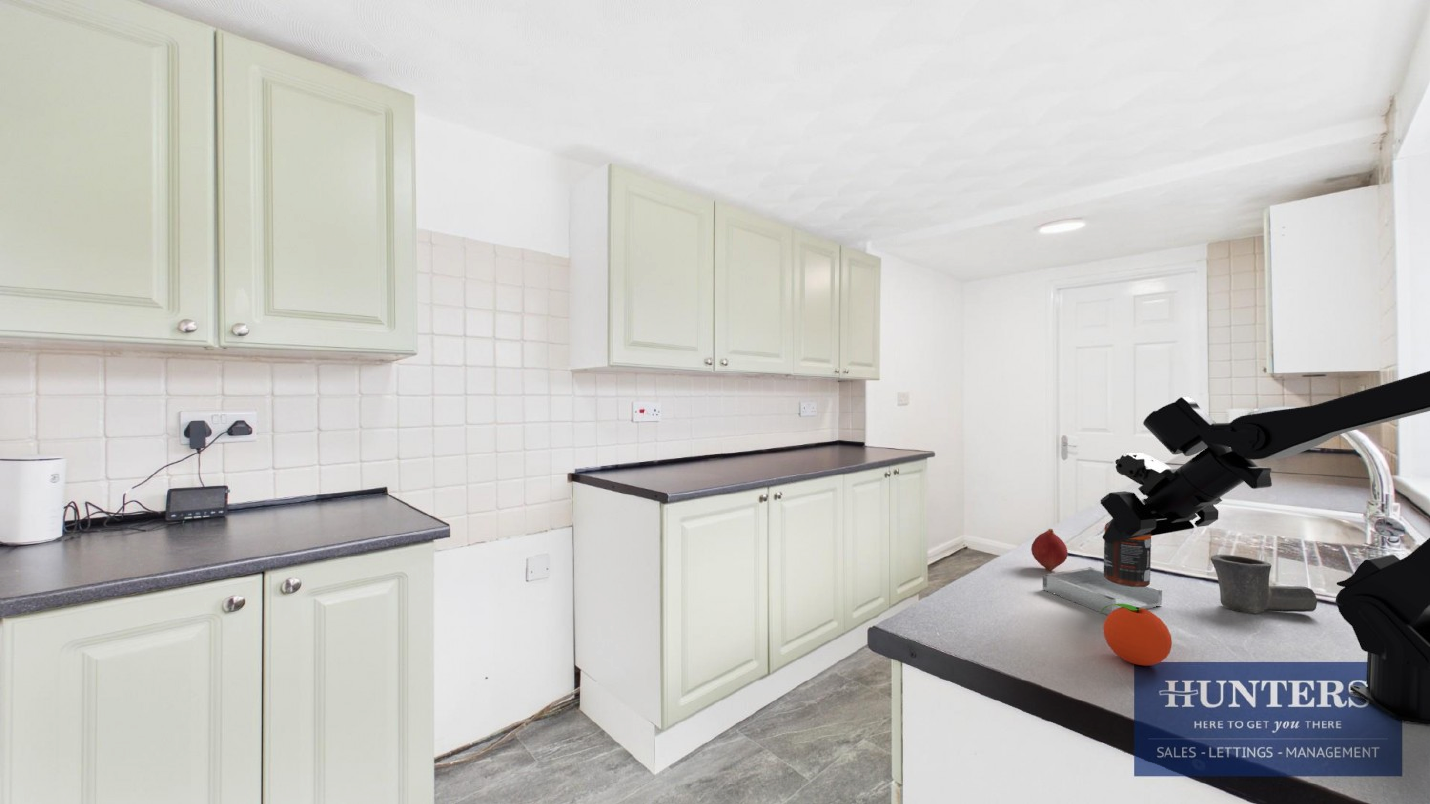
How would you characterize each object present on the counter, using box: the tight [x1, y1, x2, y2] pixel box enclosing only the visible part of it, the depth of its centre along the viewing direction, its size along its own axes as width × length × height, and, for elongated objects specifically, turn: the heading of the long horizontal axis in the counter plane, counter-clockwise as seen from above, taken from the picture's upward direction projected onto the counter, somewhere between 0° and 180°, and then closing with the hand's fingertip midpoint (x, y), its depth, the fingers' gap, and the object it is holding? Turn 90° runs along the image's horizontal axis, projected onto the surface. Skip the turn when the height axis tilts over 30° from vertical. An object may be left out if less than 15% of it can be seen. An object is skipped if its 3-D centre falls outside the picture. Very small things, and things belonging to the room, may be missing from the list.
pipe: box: [1210, 554, 1318, 614], centre depth 86 cm, size 6×13×8 cm, turn 78°
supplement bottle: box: [1103, 518, 1152, 587], centre depth 87 cm, size 6×6×11 cm
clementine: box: [1099, 604, 1173, 667], centre depth 71 cm, size 8×7×7 cm
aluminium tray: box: [1042, 567, 1163, 616], centre depth 91 cm, size 12×12×3 cm
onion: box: [1030, 528, 1068, 571], centre depth 105 cm, size 6×6×8 cm
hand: (1118, 538), depth 88 cm, fingers closed on supplement bottle, 6 cm apart
